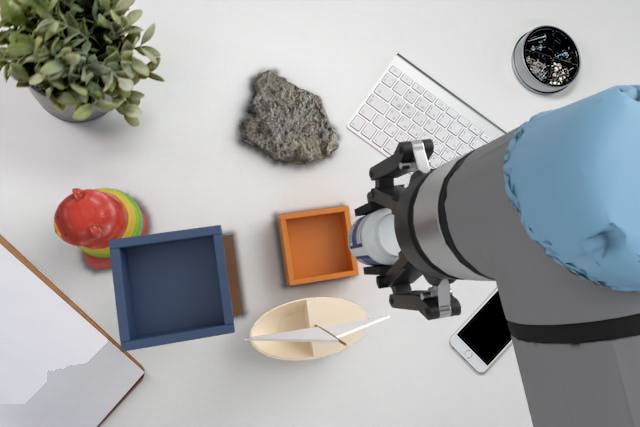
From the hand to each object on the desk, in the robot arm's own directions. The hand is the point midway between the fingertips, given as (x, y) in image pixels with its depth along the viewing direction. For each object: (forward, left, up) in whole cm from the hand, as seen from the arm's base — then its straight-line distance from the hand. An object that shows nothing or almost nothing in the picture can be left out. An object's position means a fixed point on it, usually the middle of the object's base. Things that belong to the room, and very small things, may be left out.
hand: (371, 240), depth 55 cm
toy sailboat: (-11, +4, -28) cm, 30 cm away
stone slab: (+21, +2, -28) cm, 35 cm away
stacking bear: (+8, +31, -28) cm, 43 cm away
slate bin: (-2, +20, -28) cm, 34 cm away
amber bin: (+1, +1, -28) cm, 28 cm away
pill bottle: (0, 0, -1) cm, 1 cm away
